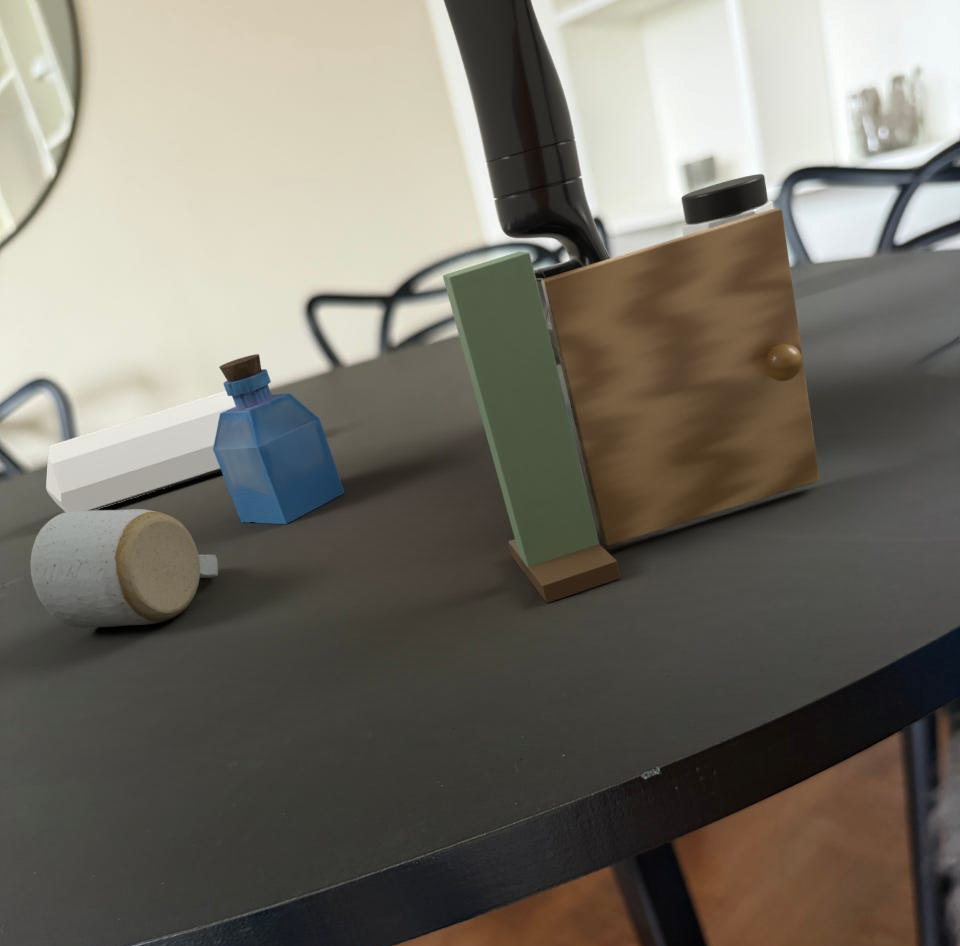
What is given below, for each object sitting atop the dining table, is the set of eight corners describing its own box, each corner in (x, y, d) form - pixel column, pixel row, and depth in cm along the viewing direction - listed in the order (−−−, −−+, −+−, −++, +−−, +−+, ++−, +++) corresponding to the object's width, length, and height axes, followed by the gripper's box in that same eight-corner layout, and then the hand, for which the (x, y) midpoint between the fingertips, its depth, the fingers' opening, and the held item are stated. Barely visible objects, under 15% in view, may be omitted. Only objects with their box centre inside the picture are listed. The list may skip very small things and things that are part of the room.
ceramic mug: (151, 643, 62) (100, 526, 59) (59, 648, 66) (7, 538, 63) (252, 571, 70) (212, 465, 67) (166, 579, 74) (124, 479, 71)
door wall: (577, 535, 59) (507, 249, 53) (621, 578, 52) (545, 253, 45) (512, 557, 59) (433, 272, 52) (546, 603, 52) (459, 280, 45)
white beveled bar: (31, 496, 97) (274, 419, 99) (28, 447, 101) (261, 374, 103) (67, 546, 103) (295, 473, 105) (63, 498, 107) (283, 429, 109)
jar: (779, 290, 109) (761, 170, 104) (792, 302, 101) (774, 173, 97) (694, 312, 111) (673, 196, 106) (702, 325, 103) (679, 200, 98)
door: (812, 476, 56) (774, 208, 50) (835, 489, 53) (798, 208, 48) (602, 541, 56) (540, 279, 50) (615, 557, 53) (551, 283, 47)
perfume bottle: (344, 492, 82) (294, 344, 77) (286, 524, 79) (229, 370, 74) (299, 492, 87) (248, 352, 82) (241, 522, 83) (184, 376, 78)
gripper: (515, 301, 67) (591, 325, 51) (705, 241, 67) (837, 247, 52) (543, 412, 70) (622, 467, 54) (724, 354, 70) (855, 392, 55)
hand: (727, 359), depth 53 cm, fingers closed
